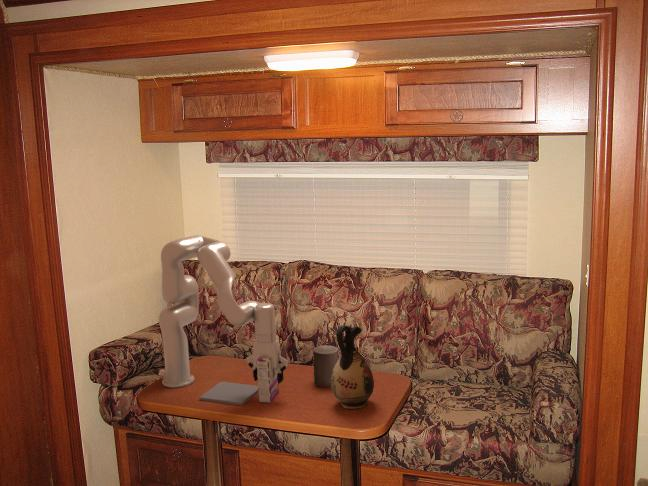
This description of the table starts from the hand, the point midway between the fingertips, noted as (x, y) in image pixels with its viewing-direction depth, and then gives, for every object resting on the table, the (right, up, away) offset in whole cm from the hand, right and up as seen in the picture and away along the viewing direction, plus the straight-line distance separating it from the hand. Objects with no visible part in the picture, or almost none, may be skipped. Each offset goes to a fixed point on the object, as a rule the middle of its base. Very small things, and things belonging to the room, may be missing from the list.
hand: (268, 380), depth 229 cm
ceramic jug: (+31, -7, -8) cm, 33 cm away
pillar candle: (+22, -4, +13) cm, 26 cm away
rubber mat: (-15, -6, +5) cm, 16 cm away
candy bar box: (0, -6, +1) cm, 7 cm away
